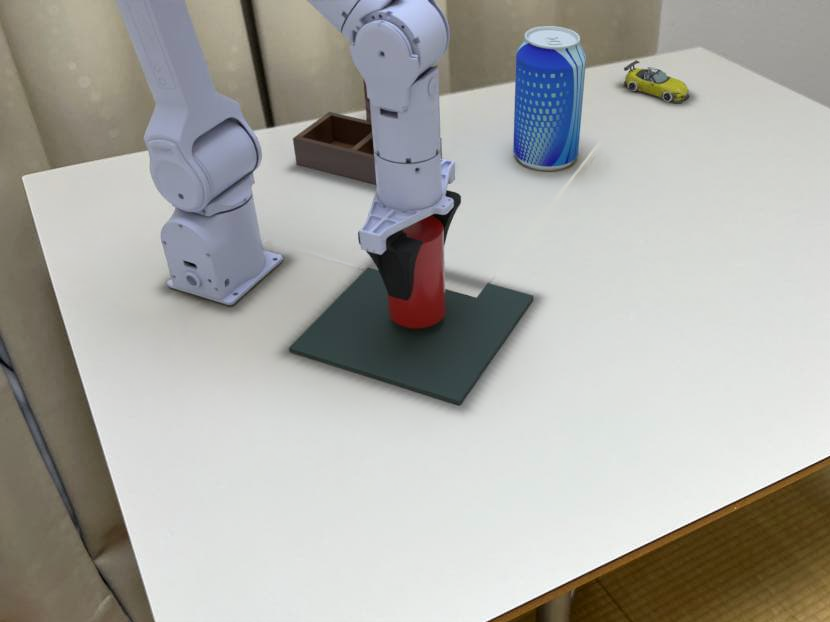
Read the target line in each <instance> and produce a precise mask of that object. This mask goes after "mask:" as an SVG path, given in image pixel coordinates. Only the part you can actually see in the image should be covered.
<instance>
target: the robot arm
mask: <svg viewBox="0 0 830 622" xmlns="http://www.w3.org/2000/svg"><path fill="white" fill-rule="evenodd" d="M306 1H307V2H308V3H309V4H310V5H311V6H312V7H313V8H314V9H315V10H316V11H317V12H319V14H321V15H322V17H323V18H325V19H326V20H327V21H328V23H330V24H331V25H332V26H333V27H334V28H335V29H336V30H337V31H338V32H339V33H340V34H342V36H343V37H344V38H345V39H347V40H348V41H349V42H350V43H351V44H350V45H348V48H349V53H350V54H349V55H350V57H351V60H352V62H353V65H354V66H355V68H356V70H357V71H358V73H359V74H360V76H361V77H362V80H363V79H364V81H365V83H366V88H367V98H369V99H370V111H371V123H372V135H373V147H374V159H375V172H376V184H377V185H376V191H375V193H374V196H373V200H372V202H371V205H370V209H369V210H368V211H369V212H368V213H367V214H368V215H367V218H366V220H365V223H364V224H363V225H362V227H361V228H359V230H358V232H357V238H358V239H357V240H358V244H359V245H360V250H362V251H365V252H366V254H367V255H368V256H369V257H370V259H371V260H372V261H373V263H374V264H375V266H376V268H377V270H379V272H380V274H381V277H382V279H383V282H384V284H385V287H386V290H387V292H388V294H389V296H392V297H395V298H399V299H402V300H406V301H407V300H408V299H409V298H410V297H411V294H412V290H413V279H414V267H415V262H416V258H417V255H418V252H419V250H420V248H421V246H422V244H423V241H421V240H417V239H413V238H409V237H407V235H406V232H404V233H403V229H404V228H406V227H408V226H410V225H412V224H414V223H416V222H418V221H420V220H422V219H424V218H426V217H428V216H430V215H431V216H434V217H435V218H437V219H438V220H440V222H441V223H442V225H443V230H444V246H445V245H446V241H447V236H448V234H449V230H450V226H451V223H452V221H453V218H454V217H455V214H456V213H457V211H458V209H459V207H460V205H462V196H461V194H460V193H458V192H456V191H452V190H448V186H449V185H451V184H452V183H454V182H455V181H456V161H453V160H449V159H445V158H442V159H441V140H442V137H441V108H440V107H441V105H440V104H441V103H440V83H439V82H440V81H439V80H440V76H439V75H440V74H439V65H437V64H436V63H437V62H439V61H440V60H441V58H442V57H443V56H444V55H445V54H446V52H447V50H448V48H449V44H450V39H451V32H450V25H449V22H448V19H447V17H446V15H445V13H444V11H443V9H442V8H441V7H440V5H439V4H438V3H437V2H436V0H306ZM115 3H116V6H117V8H118V12H119V14H120V17H121V19H122V21H123V23H124V25H125V28H126V31H127V34H128V37H129V39H130V41H131V44H132V46H133V50H134V51H135V54H136V57H137V59H138V62H139V65H140V67H141V71H142V72H143V75H144V78H145V80H146V82H147V83H146V84H147V85H148V87H149V90H150V93H151V96H152V98H153V102H154V103H155V105H154V106H155V107H154V110H153V112H152V114H151V117H150V119H149V122H148V124H147V128H146V129H145V132H144V135H143V142H144V144H145V146H146V149H147V152H148V156H149V157H148V158H149V173H150V177H151V181H152V182H153V184H154V186H155V188H156V190H157V191H158V193H159V194H160V195H161V197H162V198H163V199H164V200H166V201H167V202H168V204H171V206H172V207H174V210H173V213H172V215H171V216H170V217H169V219H168V220H167V221H166V222H165V223H164V224H163V226H162V227H161V230H160V241H161V244H162V245H161V246H162V248H163V252H164V255H165V260H166V263H167V266H168V270H169V273H170V278H169V279H168V280H167V281H166V285H167V287H168V288H170V289H174V290H177V291H181V292H184V293H188V294H191V295H194V296H198V297H200V298H203V299H207V300H211V301H213V302H217V303H220V304H224V305H227V306H232V305H234V304H236V303H237V302H238V301H239V300H240V299H241V298H242V297H243V296H244V295H245V294H246V293H249V291H250V290H251V289H252V288H254V286H256V285H257V284H258V283H259V282H260V281H261V280H263V278H265V277H266V276H267V275H268V274H269V273H270V272H271V271H272V270H274V269H275V268H276V267H277V266H278V265H279V264H280V263H282V262H283V261H284V257H283V255H281V254H278V253H275V252H272V251H268V250H266V249H264V247H263V242H262V237H261V232H260V226H259V220H258V215H257V210H256V205H255V199H254V194H253V186H254V184H255V183H256V182H255V176H254V172H255V171H256V170H258V169H259V167H260V166H261V163H262V160H263V159H262V158H263V151H262V146H261V143H260V141H259V138H258V136H257V135H256V133H255V132H254V130H253V129H252V128H251V126H250V125H249V124H248V123H247V121H246V119H245V117H244V114H243V111H242V109H241V106H240V103H239V102H237V101H236V100H234V99H233V98H230V97H228V96H226V95H224V94H221V92H220V93H219V92H218V91H217V90H216V88H215V84H214V81H213V79H212V76H211V73H210V69H209V67H208V64H207V61H206V59H205V55H204V52H203V49H202V46H201V44H200V41H199V38H198V35H197V32H196V29H195V26H194V24H193V19H192V18H191V15H190V12H189V9H188V6H187V3H186V1H185V0H115ZM435 64H436V65H435Z"/></svg>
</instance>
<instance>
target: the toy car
mask: <svg viewBox="0 0 830 622" xmlns="http://www.w3.org/2000/svg"><path fill="white" fill-rule="evenodd" d="M637 64H640V61H639V60H634V61H632V62H630V63H629V64H627V65H626V66H624V67H623V71H625V72H626V71H628V72H627V74H626V75H625V80H624V81H623V82H624V83H623V86H624V87H626V88H628V90H629V91H630V92H636V91H638V92H642V93H645V94H648V95H651V96H655V97H656V98H657V97H658V98H660V99H662V100H663V101H664V102H667V103H669V102H672V103H674V104H680V103H683V102H684V101H686V100H687V99H688V98H690V96H691V95H690V94H689V88H688V86H687V84H686V83H685V82H684V81H682V80H680V79H679V78H675V77H672V76H668V74H667V73H666V72H664V71H663V70H661V69H658V68H656V67H650V66H648V67H647V68H637V67H635V65H637Z"/></svg>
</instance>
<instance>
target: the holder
mask: <svg viewBox="0 0 830 622" xmlns="http://www.w3.org/2000/svg"><path fill="white" fill-rule="evenodd" d="M442 140H443V139H441V159H443V146H442V145H443V144H442ZM292 143H293V149H294V156H295V163H296V164H295V165H296V166H299V167H304V168H308V169H311V170H314V171H320V172H322V173H326V174H331V175H335V176H337V177H338V176H339V177H342V178H347V179H351V180H354V181H358V182H362V183H366V184H370V185H374V186H377V184H376V172H375V159H374V147H373V135H372V123H371V121H367V119H362V118H358V117H354V116H349V115H345V114H341V113H337V112H333V111H328V112H327V113H325V114H324V115H323V116H321V117H319V119H317V120H316V121H315V122H313V123H311V124H310V125H309V126H307V127H306V128H304V129H303V130H302V131H300V132H299V133H297V135H295V136H294V137H292Z"/></svg>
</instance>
